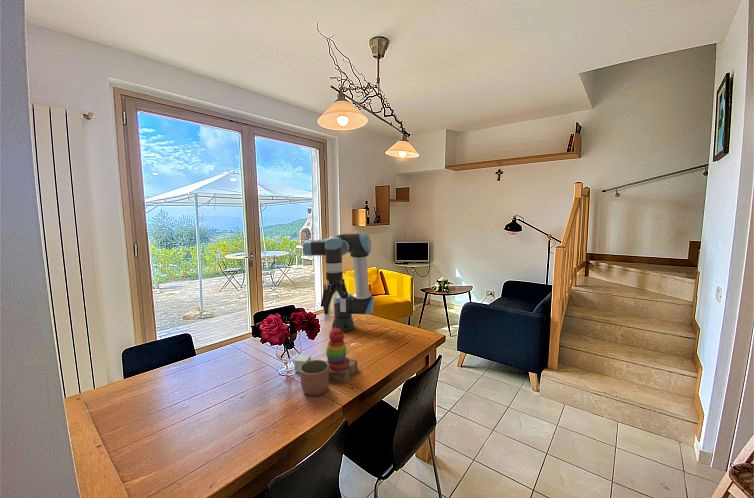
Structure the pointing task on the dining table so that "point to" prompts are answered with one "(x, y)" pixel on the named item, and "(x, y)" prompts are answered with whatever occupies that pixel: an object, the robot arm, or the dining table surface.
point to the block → (301, 361)
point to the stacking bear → (337, 350)
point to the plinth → (343, 372)
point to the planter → (314, 377)
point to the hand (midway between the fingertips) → (335, 316)
